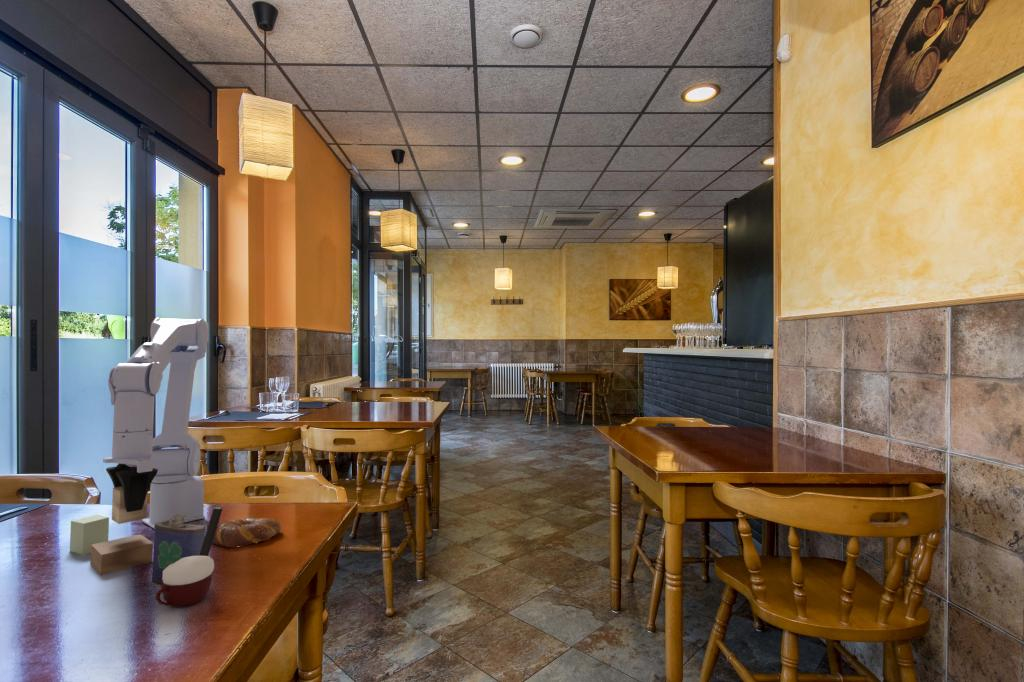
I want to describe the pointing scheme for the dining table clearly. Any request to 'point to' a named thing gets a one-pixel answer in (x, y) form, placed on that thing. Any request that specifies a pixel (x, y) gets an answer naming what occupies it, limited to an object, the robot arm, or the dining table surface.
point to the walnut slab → (121, 554)
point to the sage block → (88, 533)
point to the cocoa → (190, 573)
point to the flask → (175, 543)
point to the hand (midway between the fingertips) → (130, 508)
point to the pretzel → (245, 531)
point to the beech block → (120, 511)
